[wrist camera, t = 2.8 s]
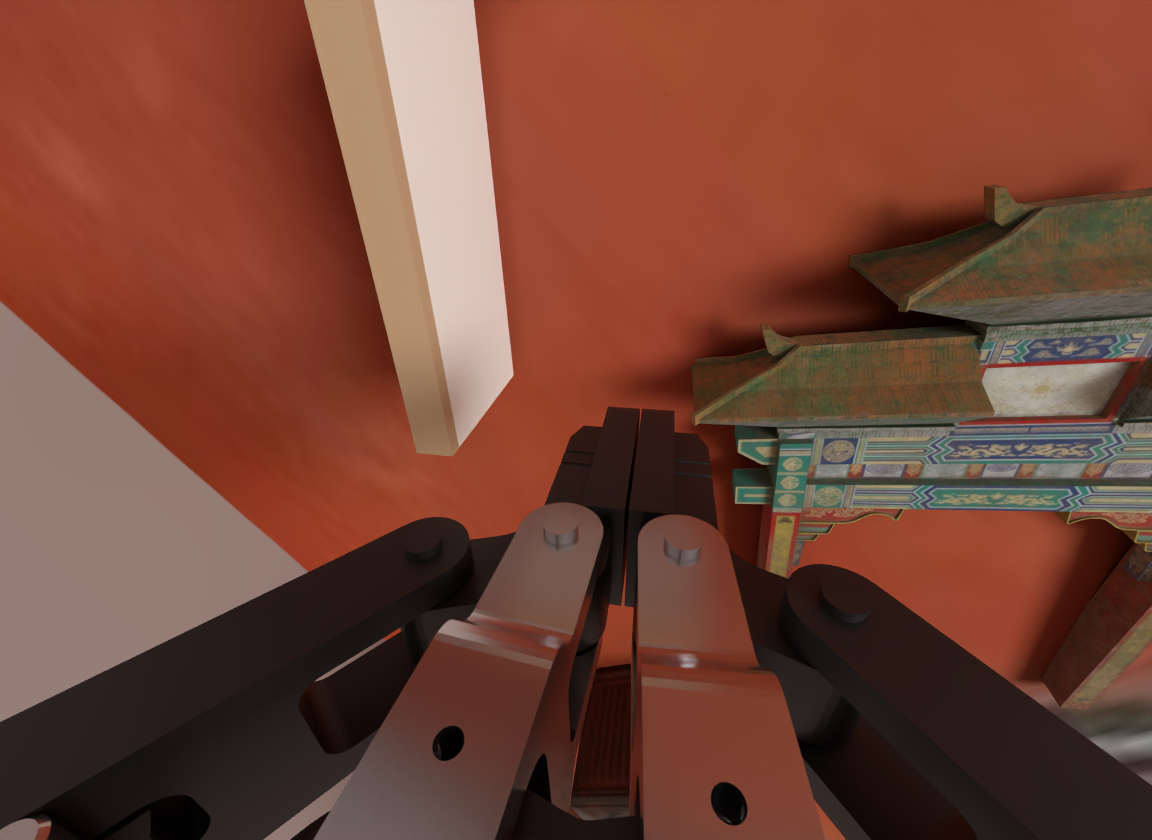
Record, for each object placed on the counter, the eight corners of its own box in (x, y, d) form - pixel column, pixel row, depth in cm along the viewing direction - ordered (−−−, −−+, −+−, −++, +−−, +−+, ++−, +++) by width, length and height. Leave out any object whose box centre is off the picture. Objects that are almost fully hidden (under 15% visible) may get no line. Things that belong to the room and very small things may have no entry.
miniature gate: (694, 695, 31) (688, 241, 15) (691, 621, 35) (684, 212, 19) (1199, 751, 24) (2158, 71, 8) (1117, 652, 29) (1639, 86, 13)
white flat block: (429, -40, 16) (259, -178, 9) (468, -45, 16) (322, -190, 9) (486, 373, 24) (416, 453, 17) (513, 375, 24) (452, 456, 17)
